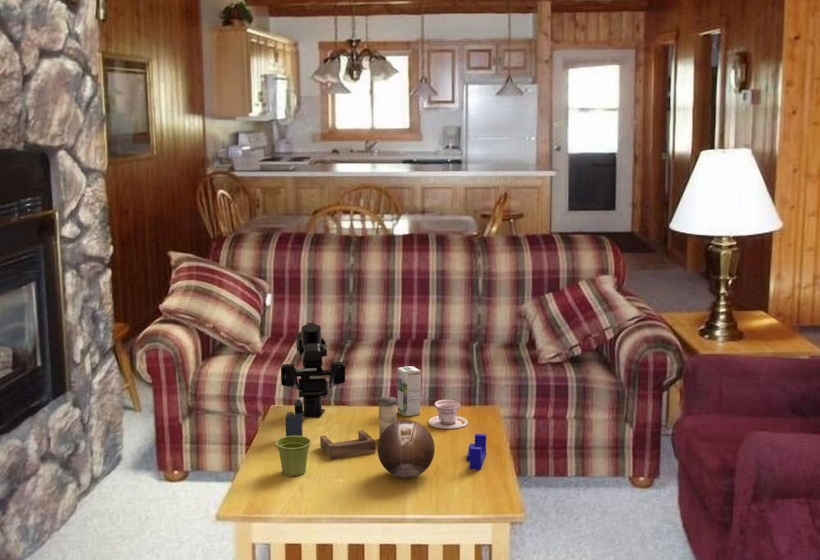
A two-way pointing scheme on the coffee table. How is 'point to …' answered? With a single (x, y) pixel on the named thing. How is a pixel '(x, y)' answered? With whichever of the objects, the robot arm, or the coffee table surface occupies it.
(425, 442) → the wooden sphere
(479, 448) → the blue stepped block
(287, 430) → the vaping device
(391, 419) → the lidded tumbler
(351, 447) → the cradle
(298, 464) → the plant pot
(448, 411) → the teacup
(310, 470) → the coffee table surface
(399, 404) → the syrup box
